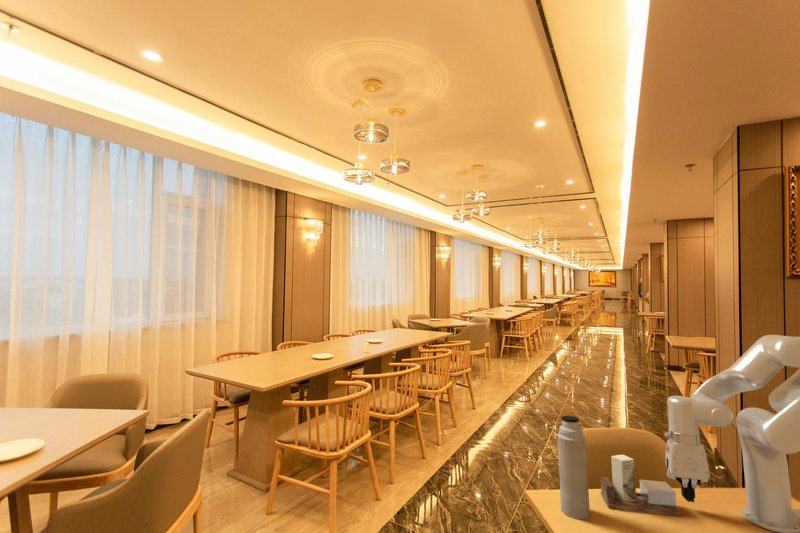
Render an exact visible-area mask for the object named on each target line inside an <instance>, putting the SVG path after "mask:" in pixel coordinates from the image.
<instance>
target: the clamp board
mask: <svg viewBox="0 0 800 533" xmlns="http://www.w3.org/2000/svg"><path fill="white" fill-rule="evenodd" d="M600 490H601V491H600V496H601V498H602V500H603V501H604V502H605V505H606V507H607V508H608V509H610V510H619V511H628V512H637V513H638V512H639V513H645V514H646V513H647V514H653V515H655V514H657V515H662V516H663V515H665V516H672V517H673V516H674V517H681V514H682V513H681V509H680V507H677V508H673V507H664V506H654V505H647V503H646V502H645V501H644V500H643V498H642V497H641V495H640V492H636V502H631V503H626V502H621V501H619V500H618V499H616V498H614V487H613V483H612V482H611V481H610V479H609V478H608V477H607V476H600Z"/></svg>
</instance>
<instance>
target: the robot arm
mask: <svg viewBox="0 0 800 533" xmlns="http://www.w3.org/2000/svg"><path fill="white" fill-rule="evenodd" d="M785 366H786V367H789V368H798V369H797V370H796V372H795V373H793V374H792V375H791V376H790V377H788V378H787V379H786V380H785V381H784V382H782V383H781V384H779V385H778V386H777V387H776V388H774V389H773V390H772V391H771V392H770V394H769V396H768V399H767V400H768V403H769V405H770V407H771V408H772V409H773V410H774V411H776V413H773V412H771V411H768V410H767V409H763V408H760V407H755V406H754V407H746V408H743V409H742V410H740V411H738V414H737V415H736V419H735V423H736V429H737V434H738V437H739V441H740V445H741V446H740V447H741V452H742V453H741V454H742V462H743V463H742V464H743V472H744V483H745V484H744V485H745V492H746V494H745V495H746V503H747V505H746V506H743V507H742V508H741V510H740V511H741V512H740V513H741V515H742V517H743V518H745V520H747V521H749V522H750V523H752V524H754V525H756V526H757V527H760V528H763V529H766V530H769V531H772V532H777V533H800V509H799V508H798V509H796V508H793V502H792V492H791V484H790V483H791V482H790V476H789V474H790V473H789V465H788V463H789V462H788V458H787V455H791V454H797V453H798V452H800V336H789V335H781V334H780V335H779V334H767V335H766V334H765V335H763V336H761V337H760V338H759V339H757V340H756V341H755V342H754V343H753V344H752V345H751V346H749V348H748V349H747V350H746V351H745V352H744V353H743V354H742V355H741V356H740V357H739V358H738V359H737V360H736V361H735V362H734V363H732V365H730V366H729V367H728V368H726V369H725V370H722V371H721V372H719V373H717V374H716V375H714V376H712V377H709V379H707V380H706V381H705V382H704V383H702V384H701V385H700V386H699V387H698V388H697V389H696V390H695V391H694V392H693V393H692V394H691V396H690V397H689V396H684V395H670V396H668V397H667V416H668V428H669V429H668V431H667V432H664V437H665V438H669V439H667V440H666V447H665V468H666V470H667V471H666V476H667V477H668V478H669V479H671V480H674V481H677V482H678V483H679V484H680V490H681V496H682V497H683V499H685V501H686V502H689V503H691V502H692V503H695V499H696V489H697V487H698V486H699V484H701V483H707V482H709V479H710V469H709V468H710V467H709V462H708V457H707V453H706V450H705V446H704V444H702V443H701V442H700V429H699V428H700V427H699V426H700V425H699V424H702V425H707V426H711V427H718V428H721V427H722V428H723V427H727V426H729V425H731V424H732V423H733V420H734V413H733V411H732V410H731V408H730V407H729V406H728V405H726V404H725V402H726V401H727V400H728V399H729V398H731V397H733V396H736V395H737V394H741V393H746V392H751V391H756V390H759V389H762V388H763V387H764V386H765V385H767V383H769V382H770V381H771V379H772V378H774V376H776V375H777V374H778V373H779V372H780V371H781V370H782V369H784V367H785Z"/></svg>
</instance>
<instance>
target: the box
mask: <svg viewBox="0 0 800 533" xmlns="http://www.w3.org/2000/svg"><path fill="white" fill-rule="evenodd" d="M611 476H612V479H611V480H612V485H613V487H614V498H616V499H618V500H619V501H621V502H626V503H631V502H636V493H637V491H636V490H637V488H636V486H637V485H636V473H635V459H634V458H631V457H629V455H628V456H627V455H625V454H616V455H611Z"/></svg>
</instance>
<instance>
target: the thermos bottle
mask: <svg viewBox="0 0 800 533" xmlns="http://www.w3.org/2000/svg"><path fill="white" fill-rule="evenodd" d="M561 420H562V421H561V425H560V426H559V429H558V433H557V434H556V435H557V451H558V454H557V456H558V470H559V472H558V473H559V491H560V492H559V495H560V510H561V512H562V513H563V512H564V513H565V514H566V516H567V515H568V516H567V517H569V516H570V517H569V518H572V517H573V518H572V519H576V518H577V519H576V520H586V519H589V517H590V498H589V497H590V496H589V495H590V494H589V482H588V481H589V480H588V460H587V444H586V443H587V440H586V436H584V431H583V429H582V428H581V427H580V422H579V421H580V418H579V417H577V416H574V415H562V416H561ZM564 513H563V514H564ZM565 514H564V515H565Z"/></svg>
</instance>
